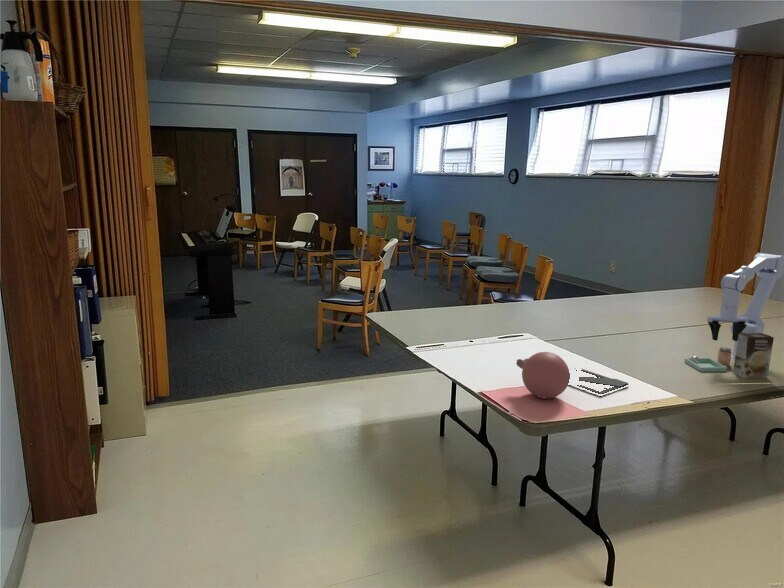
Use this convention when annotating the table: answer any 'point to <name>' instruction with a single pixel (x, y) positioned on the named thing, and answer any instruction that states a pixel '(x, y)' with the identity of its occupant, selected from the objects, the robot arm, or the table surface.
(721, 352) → the shaker
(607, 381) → the picture frame
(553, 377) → the balloon
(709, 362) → the tray
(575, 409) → the table surface
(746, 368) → the coffee box
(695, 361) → the ball
